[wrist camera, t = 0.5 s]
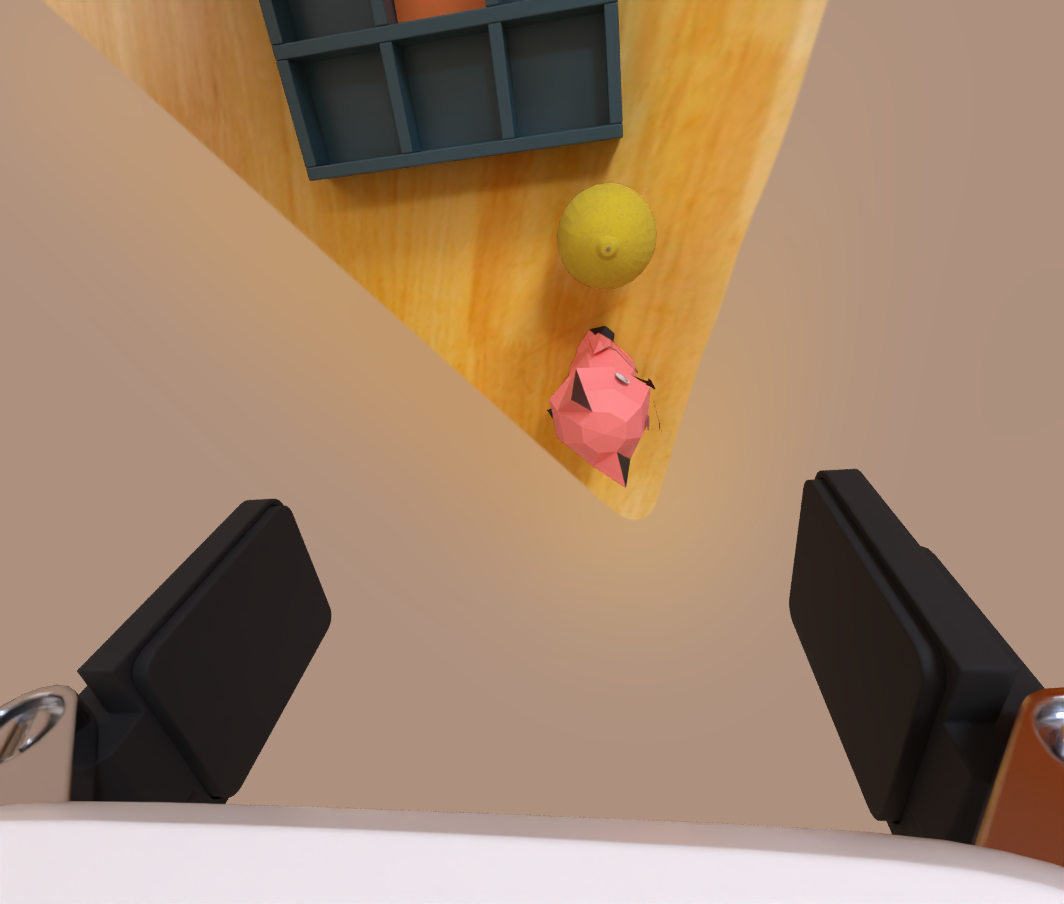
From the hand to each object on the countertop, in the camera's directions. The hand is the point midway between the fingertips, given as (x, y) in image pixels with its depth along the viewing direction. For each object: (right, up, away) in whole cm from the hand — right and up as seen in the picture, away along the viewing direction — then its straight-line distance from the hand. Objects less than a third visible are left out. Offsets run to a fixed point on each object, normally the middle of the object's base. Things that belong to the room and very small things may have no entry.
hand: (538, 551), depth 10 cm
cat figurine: (+5, +8, +29) cm, 31 cm away
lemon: (+5, +16, +25) cm, 30 cm away
